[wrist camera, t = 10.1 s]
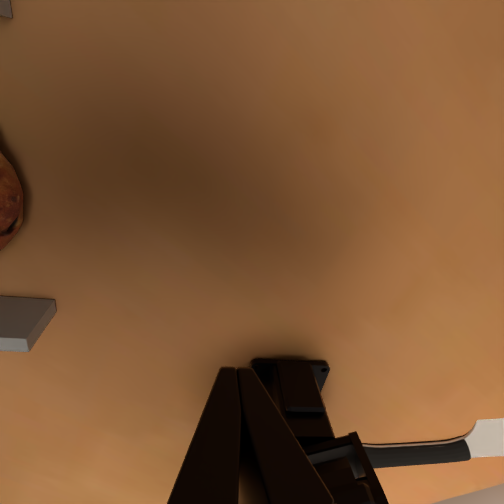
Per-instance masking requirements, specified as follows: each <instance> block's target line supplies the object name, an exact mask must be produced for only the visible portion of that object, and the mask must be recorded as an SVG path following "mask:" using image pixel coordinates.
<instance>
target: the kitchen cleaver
mask: <svg viewBox="0 0 504 504" xmlns="http://www.w3.org/2000/svg"><path fill="white" fill-rule="evenodd" d="M362 445H363V447H364V450H365V452H366V454H367V456H368V458H369V461H370V463H371V465H372V467H373V468H385V467H397V466H409V465H423V464H437V463H449V462H459V461H467V460H469V459H471V458H473V457H492V456H504V418H501V419H485V420H477V422H476V423H475V425H474V426H473V428H472V429H471V430H470V431H469V432H468V433H467V434H466V435H465V436H463V437H462V436H460V437H456V438H452V439H448V440H441V441H428V442H412V443H394V444H364V443H362Z"/></svg>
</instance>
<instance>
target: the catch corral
mask: <svg viewBox="0 0 504 504" xmlns="http://www.w3.org/2000/svg"><path fill="white" fill-rule="evenodd" d="M0 16H4V17H8V18H12V11H11V5H10V0H0ZM55 313H56V305H55V300H51V299H37V298H22V297H8V296H0V351H18V352H29V351H30V350H31V348H32V347H33V345H34V344H35V342H36V341H37V340H38V338H39V337H40V335H41V334H42V332H43V331H44V329H45V328H46V326H47V325H48V323H49V322H50V321H51V319H52V318H53V316H54V315H55Z"/></svg>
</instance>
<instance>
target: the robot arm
mask: <svg viewBox="0 0 504 504" xmlns="http://www.w3.org/2000/svg"><path fill="white" fill-rule="evenodd" d="M256 365H257V366H256ZM329 371H330V368H329V365H328V363H326V362H317V361H295V360H273V359H254V360H253V361H251V364H250V367H238V368H237V369H236V368H235V367H221V368H220V369H219V372H218V374H217V377H216V379H215V382H214V385H213V387H212V390H211V392H210V395H209V397H208V400H207V402H206V405H205V407H204V410H203V413H202V415H201V418H200V420H199V423H198V425H197V428H196V430H195V433H194V436H193V438H192V441H191V443H190V446H189V448H188V451H187V453H186V456H185V459H184V461H183V464H182V466H181V469H180V471H179V474H178V476H177V479H176V482H175V484H174V487H173V489H172V492H171V494H170V497H169V499H168V502H167V504H389V503H388V501H387V498H386V496H385V494H384V491H383V489H382V487H381V485H380V482H379V480H378V478H377V476H376V474H375V471H374V469H373V467H372V465H371V463H370V461H369V458H368V456H367V454H366V452H365V450H364V447H363V445H362V443H361V441H360V439H359V437H358V434H357V432H356V431H355V432H351V433H348V435H346V436H342V437H338V438H335V436H334V433H333V430H332V427H331V424H330V421H329V418H328V415H327V412H326V408H325V405H324V402H323V399H322V396H321V390H322V388H323V385H324V383H325V380H326V378H327V376H328V373H329ZM355 478H356V479H355Z"/></svg>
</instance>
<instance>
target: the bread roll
mask: <svg viewBox="0 0 504 504" xmlns="http://www.w3.org/2000/svg"><path fill="white" fill-rule="evenodd" d="M22 221H23V191H22V188H21V185H20V182H19V180H18V177H17V175H16V173H15V170H14V168H13V166H12V165H11V164H10V163H9V162H8V160H7V159H6V158H5V156H4V155H3V154H2V153H1V151H0V250H1V249H3V248H4V247H5V246H6V245H7V244H8V242H9V241H10V240H11V239H12V238H13V236H14V235H15V234H16V233H17V231H18V230H19V228H20V226H21V225H22Z"/></svg>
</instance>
